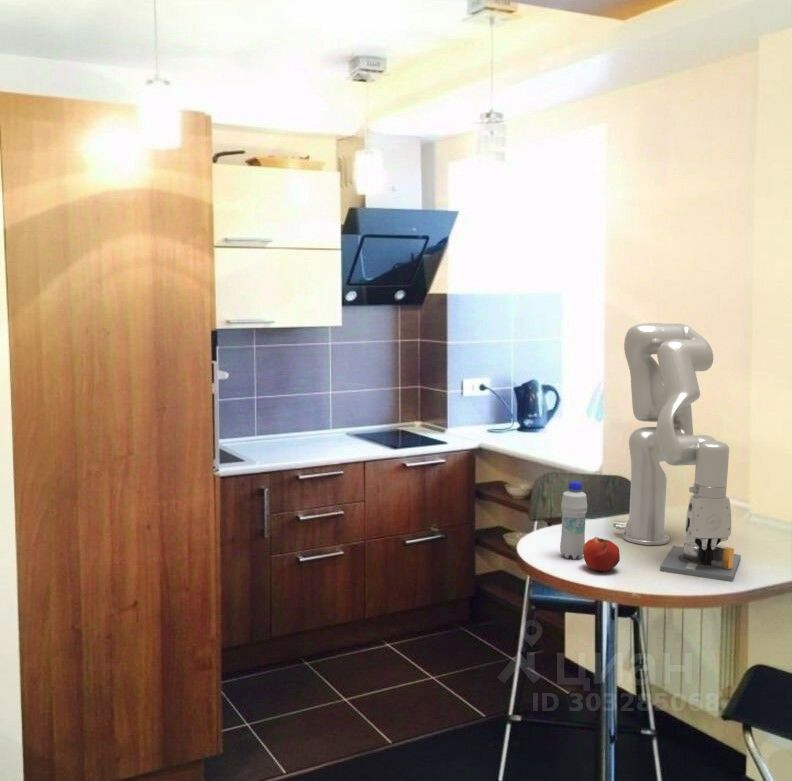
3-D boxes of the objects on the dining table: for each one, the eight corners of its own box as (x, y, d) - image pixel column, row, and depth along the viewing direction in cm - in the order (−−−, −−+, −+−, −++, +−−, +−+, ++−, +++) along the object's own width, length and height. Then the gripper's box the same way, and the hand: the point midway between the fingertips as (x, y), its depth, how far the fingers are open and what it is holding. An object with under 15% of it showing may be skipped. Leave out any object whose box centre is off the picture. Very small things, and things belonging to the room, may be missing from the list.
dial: (678, 557, 234) (679, 538, 234) (692, 553, 238) (693, 535, 237) (723, 570, 224) (724, 551, 223) (737, 566, 228) (738, 547, 227)
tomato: (592, 561, 235) (593, 531, 234) (625, 569, 229) (627, 538, 228) (574, 570, 228) (576, 538, 227) (608, 578, 222) (610, 546, 221)
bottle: (581, 553, 242) (585, 478, 239) (588, 560, 235) (591, 484, 233) (556, 552, 242) (559, 478, 239) (562, 560, 235) (565, 484, 233)
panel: (660, 570, 228) (660, 565, 228) (673, 550, 246) (673, 544, 246) (732, 581, 221) (732, 575, 220) (740, 559, 239) (740, 554, 238)
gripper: (688, 495, 220) (683, 569, 223) (746, 494, 222) (741, 567, 225) (674, 488, 228) (670, 559, 230) (730, 487, 230) (725, 558, 232)
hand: (705, 563), depth 227 cm, fingers closed
